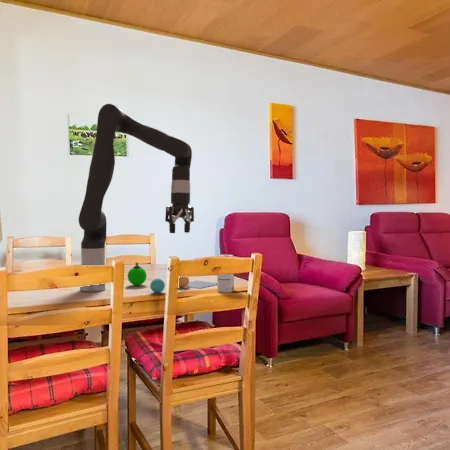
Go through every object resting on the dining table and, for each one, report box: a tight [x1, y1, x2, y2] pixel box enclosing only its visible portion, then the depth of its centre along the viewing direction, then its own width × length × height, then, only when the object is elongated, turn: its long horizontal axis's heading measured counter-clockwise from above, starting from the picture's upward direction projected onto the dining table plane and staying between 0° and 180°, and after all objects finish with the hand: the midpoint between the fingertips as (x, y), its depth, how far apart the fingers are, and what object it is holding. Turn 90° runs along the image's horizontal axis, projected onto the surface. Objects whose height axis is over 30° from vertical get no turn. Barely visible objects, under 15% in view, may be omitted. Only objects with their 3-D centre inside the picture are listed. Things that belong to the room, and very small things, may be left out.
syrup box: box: [217, 254, 235, 293], centre depth 169 cm, size 6×6×14 cm
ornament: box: [127, 262, 147, 287], centre depth 182 cm, size 8×8×10 cm
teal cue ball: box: [149, 278, 166, 294], centre depth 165 cm, size 6×6×6 cm
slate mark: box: [186, 280, 218, 289], centre depth 184 cm, size 14×14×1 cm
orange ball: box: [178, 276, 190, 289], centre depth 176 cm, size 6×6×6 cm
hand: (179, 232), depth 167 cm, fingers open, 8 cm apart
